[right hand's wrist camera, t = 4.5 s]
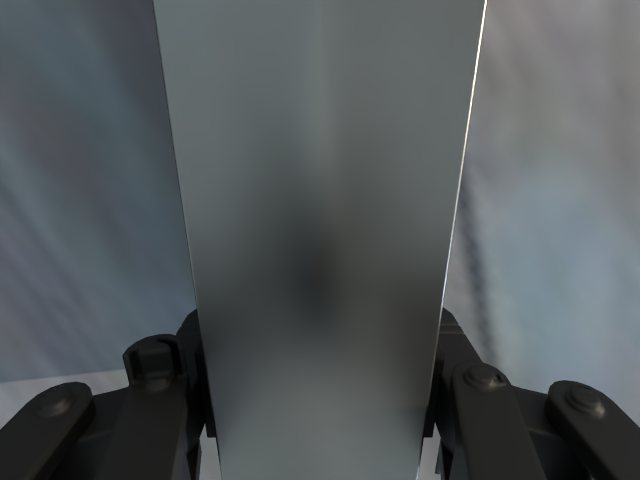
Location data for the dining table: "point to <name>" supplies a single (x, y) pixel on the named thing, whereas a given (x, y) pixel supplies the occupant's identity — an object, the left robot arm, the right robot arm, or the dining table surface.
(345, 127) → the bar
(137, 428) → the right robot arm
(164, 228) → the dining table surface
